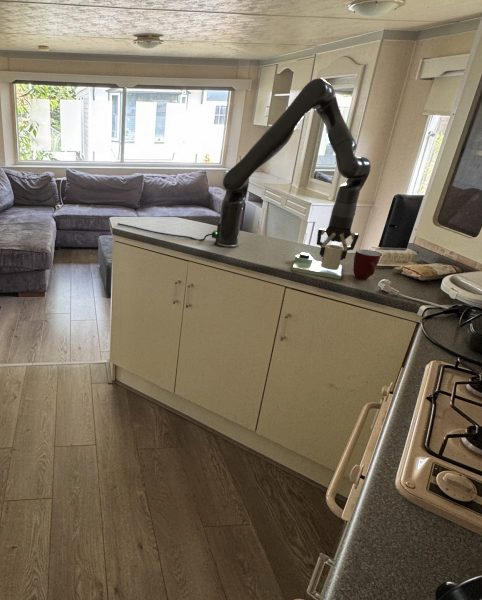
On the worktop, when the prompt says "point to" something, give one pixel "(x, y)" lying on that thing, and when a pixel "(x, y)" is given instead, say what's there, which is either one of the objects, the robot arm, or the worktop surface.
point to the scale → (315, 268)
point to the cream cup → (332, 257)
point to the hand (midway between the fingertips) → (331, 257)
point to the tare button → (304, 255)
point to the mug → (365, 263)
